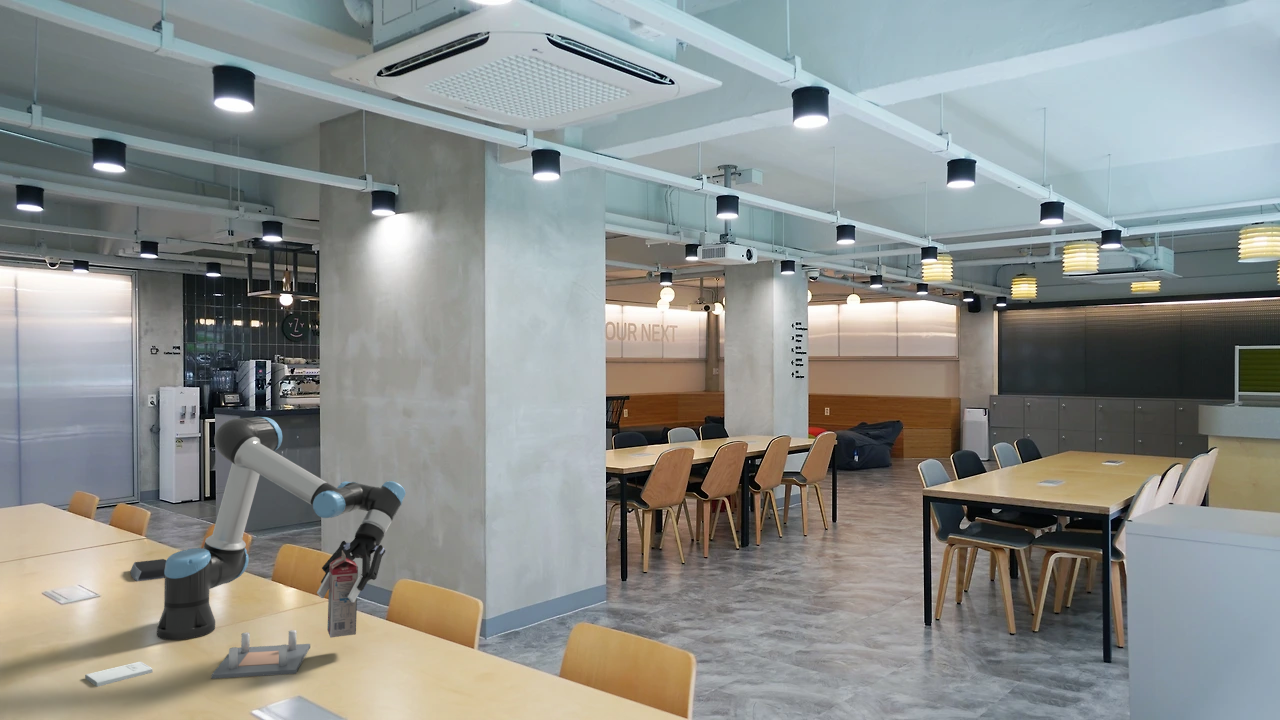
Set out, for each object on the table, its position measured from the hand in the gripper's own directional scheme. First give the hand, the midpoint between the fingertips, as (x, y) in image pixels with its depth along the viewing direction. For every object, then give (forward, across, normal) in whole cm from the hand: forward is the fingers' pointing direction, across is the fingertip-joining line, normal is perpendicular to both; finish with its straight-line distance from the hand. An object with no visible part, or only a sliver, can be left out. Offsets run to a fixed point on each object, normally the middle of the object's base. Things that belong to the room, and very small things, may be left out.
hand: (335, 597), depth 220 cm
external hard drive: (-22, +121, -48) cm, 132 cm away
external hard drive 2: (+33, +42, +9) cm, 54 cm away
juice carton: (+5, 0, -10) cm, 11 cm away
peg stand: (+18, +14, -4) cm, 24 cm away
